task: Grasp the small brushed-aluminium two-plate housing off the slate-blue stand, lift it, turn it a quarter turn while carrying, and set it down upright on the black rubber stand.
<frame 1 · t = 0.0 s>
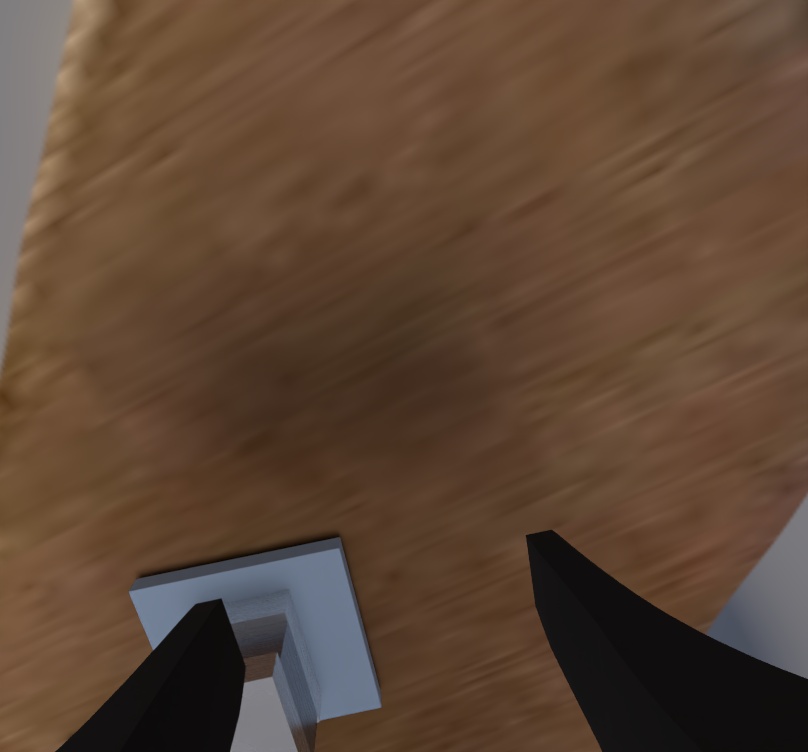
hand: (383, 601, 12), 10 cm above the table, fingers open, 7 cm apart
housing: (262, 653, 23), point 1 cm above the table, touching stand a
stand a: (265, 639, 24), on the table
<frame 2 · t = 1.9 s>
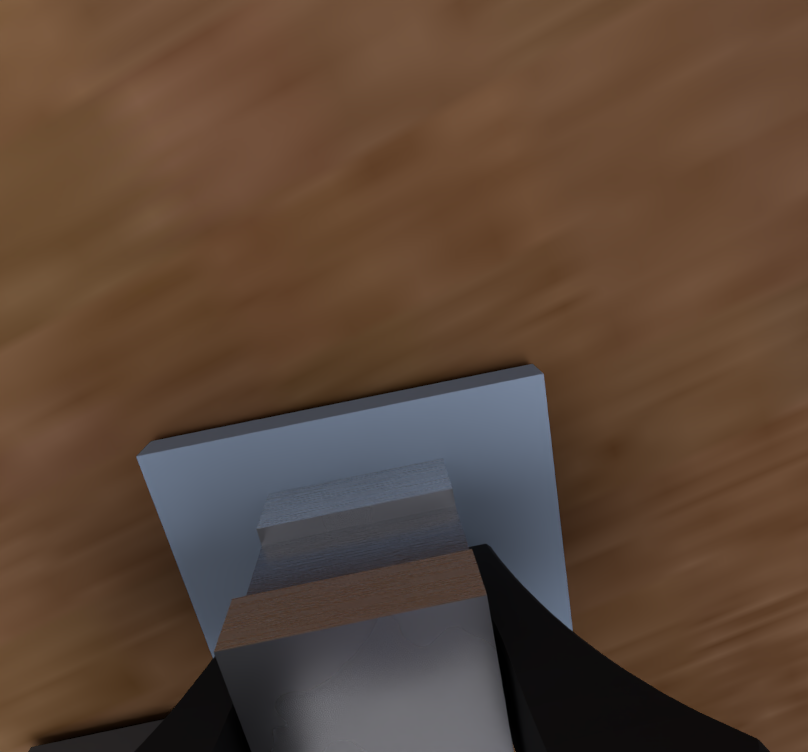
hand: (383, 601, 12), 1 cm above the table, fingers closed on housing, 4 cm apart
housing: (382, 584, 13), point 1 cm above the table, touching gripper, stand a
stand a: (381, 563, 13), on the table
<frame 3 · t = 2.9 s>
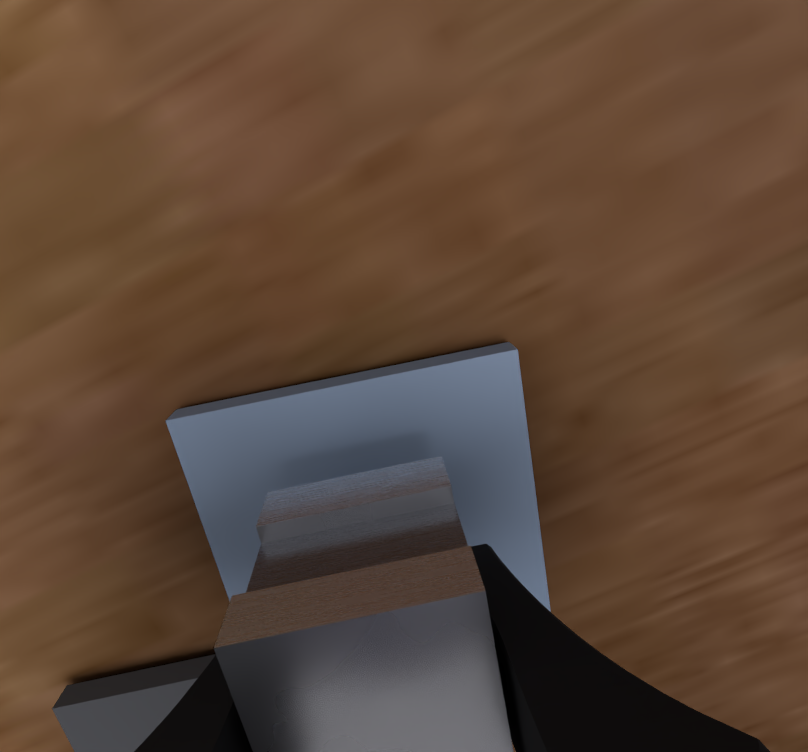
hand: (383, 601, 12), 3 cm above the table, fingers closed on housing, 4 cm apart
housing: (381, 582, 13), point 3 cm above the table, touching gripper
stand a: (377, 519, 15), on the table
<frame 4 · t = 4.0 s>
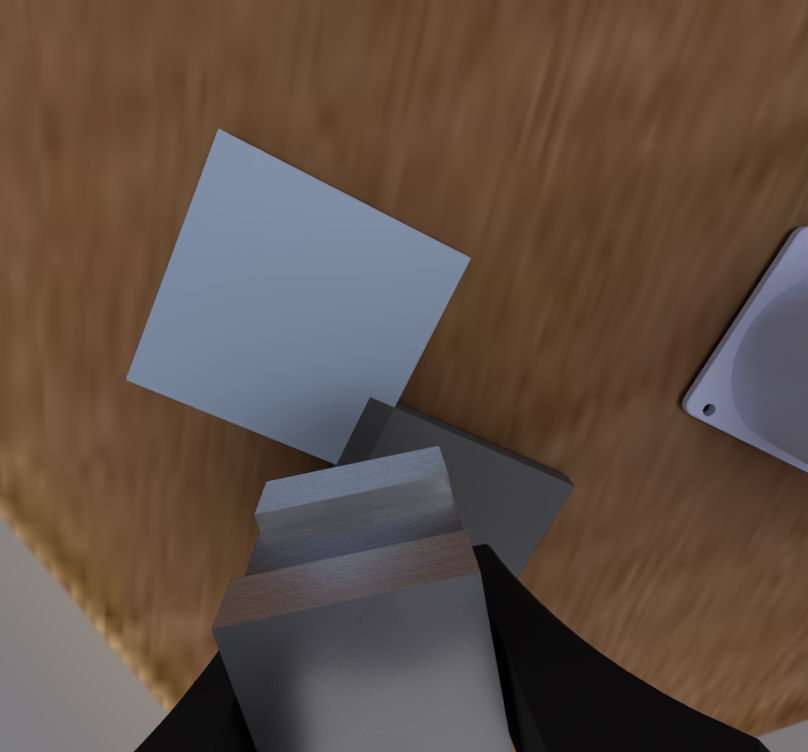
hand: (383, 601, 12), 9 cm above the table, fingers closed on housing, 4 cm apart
housing: (379, 572, 13), point 8 cm above the table, touching gripper
stand a: (299, 315, 19), on the table
stand b: (421, 525, 22), on the table
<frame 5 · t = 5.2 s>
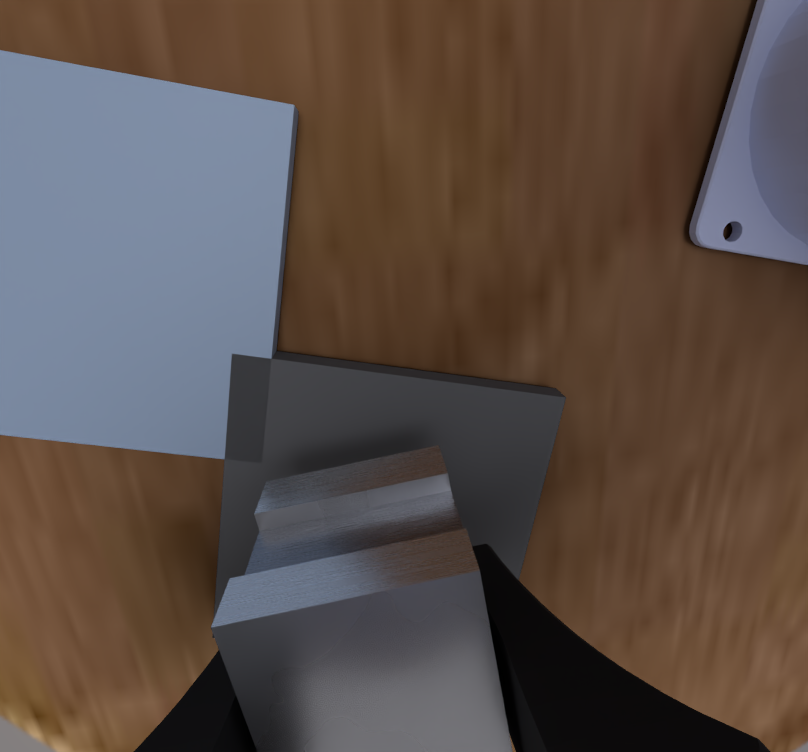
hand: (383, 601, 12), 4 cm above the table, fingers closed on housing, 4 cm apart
housing: (379, 572, 13), point 3 cm above the table, touching gripper
stand a: (103, 270, 13), on the table
stand b: (379, 508, 16), on the table
when the fingers open (2 cm above the table, at t = 6.0 s): housing stays where it is, resting on stand b.
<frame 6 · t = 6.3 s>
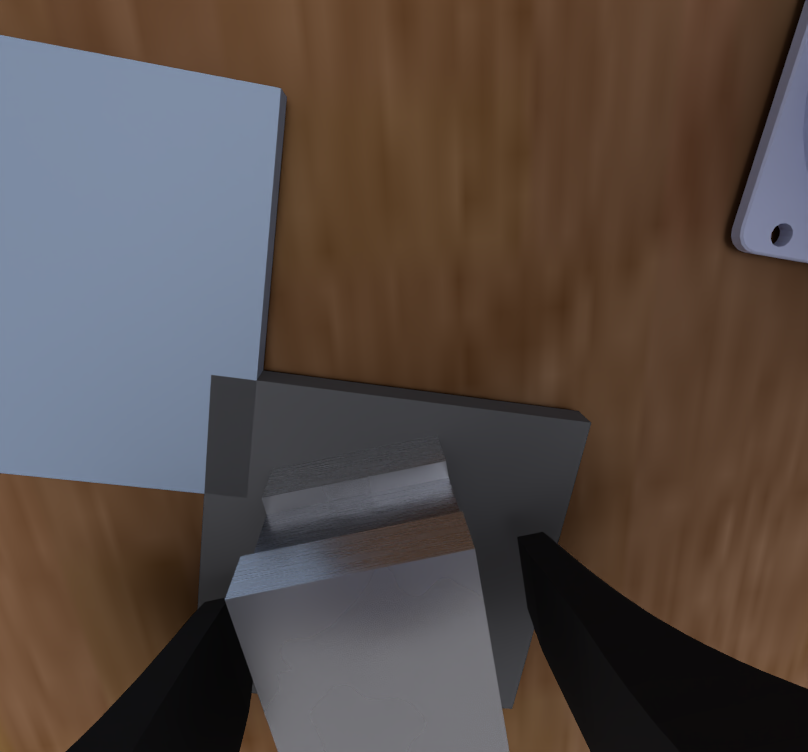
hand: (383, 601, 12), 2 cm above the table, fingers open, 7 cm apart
housing: (379, 556, 13), point 1 cm above the table, touching stand b
stand a: (63, 280, 12), on the table
stand b: (380, 544, 14), on the table
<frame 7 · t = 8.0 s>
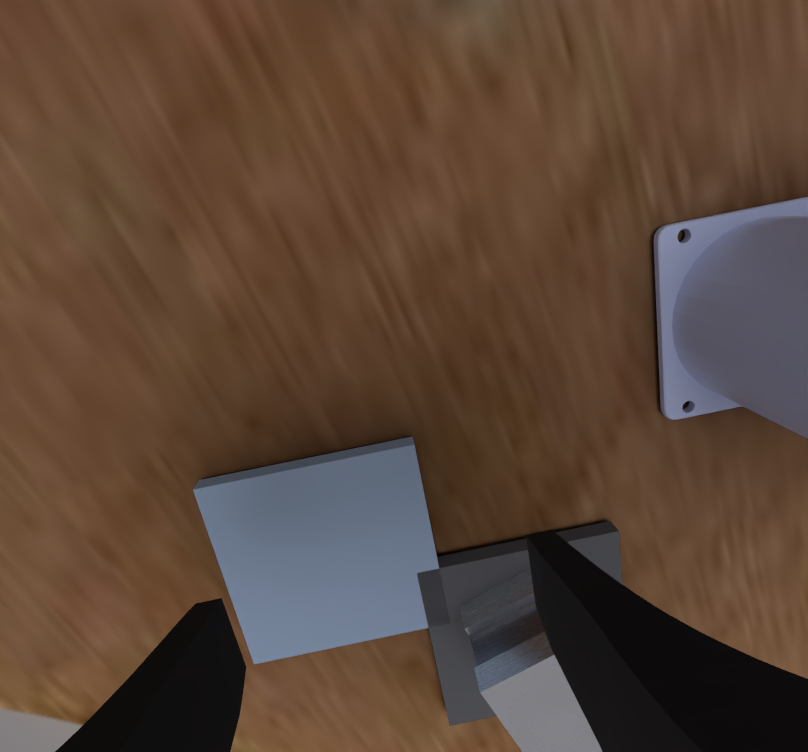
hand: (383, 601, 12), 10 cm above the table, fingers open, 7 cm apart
housing: (527, 630, 24), point 1 cm above the table, touching stand b
stand a: (330, 549, 23), on the table
stand b: (524, 620, 25), on the table
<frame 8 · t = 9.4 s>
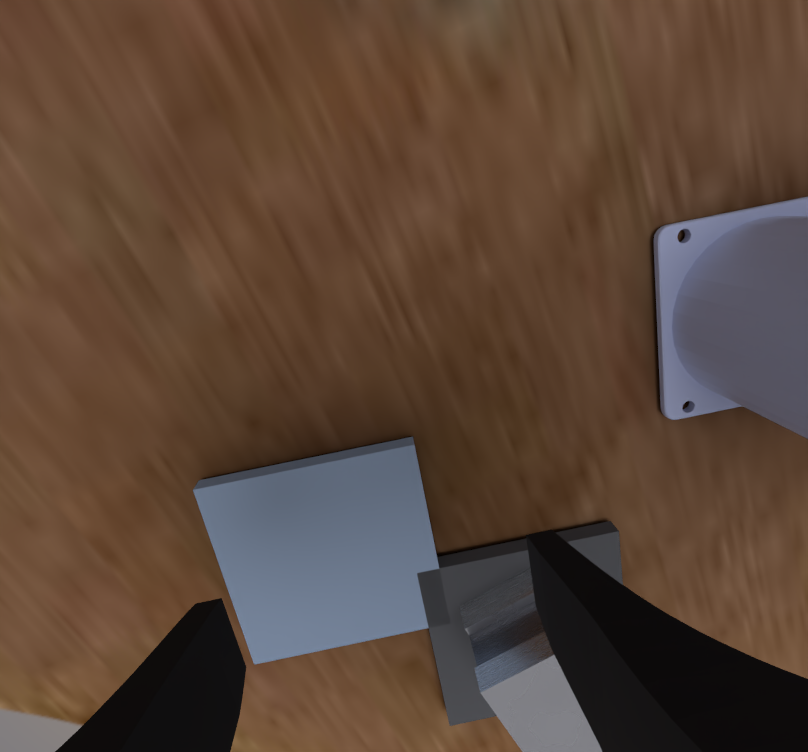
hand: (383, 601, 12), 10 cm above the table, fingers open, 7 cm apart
housing: (527, 630, 24), point 1 cm above the table, touching stand b
stand a: (330, 549, 23), on the table
stand b: (524, 620, 25), on the table
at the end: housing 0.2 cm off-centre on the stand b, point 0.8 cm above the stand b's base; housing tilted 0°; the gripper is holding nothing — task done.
